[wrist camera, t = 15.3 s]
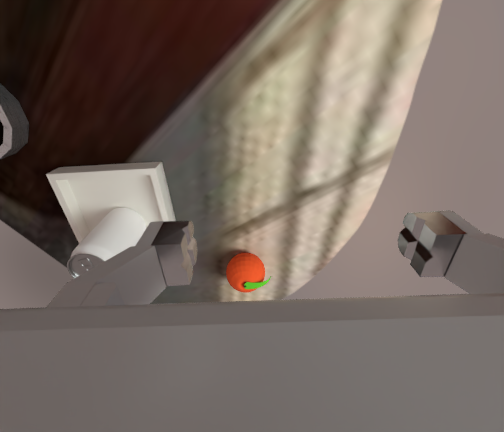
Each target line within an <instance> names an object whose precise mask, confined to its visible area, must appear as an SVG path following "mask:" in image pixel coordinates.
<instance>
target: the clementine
mask: <svg viewBox="0 0 504 432" xmlns="http://www.w3.org/2000/svg"><path fill="white" fill-rule="evenodd" d="M226 275H227V280H228V282H229V283H230V285H231V286H232V287H233V288H234V289H236V290H238V291H240V292H251V291H254V290H255V289H257V288H259V287H261V286H263V285H265V284H266V283H267V282H268V281H269V280H270V279H268V280H267V281H264V282H263V280H264V276H265V268H264V265H263V263H262V261H261V260H260V259H259V258H258V257H257V256H256V255H254V254H251V253H240V254H237V255H236V256H234V257H233V258H232V259H231V260H230V262H229V264H228V266H227V270H226ZM270 278H271V277H270Z"/></svg>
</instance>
